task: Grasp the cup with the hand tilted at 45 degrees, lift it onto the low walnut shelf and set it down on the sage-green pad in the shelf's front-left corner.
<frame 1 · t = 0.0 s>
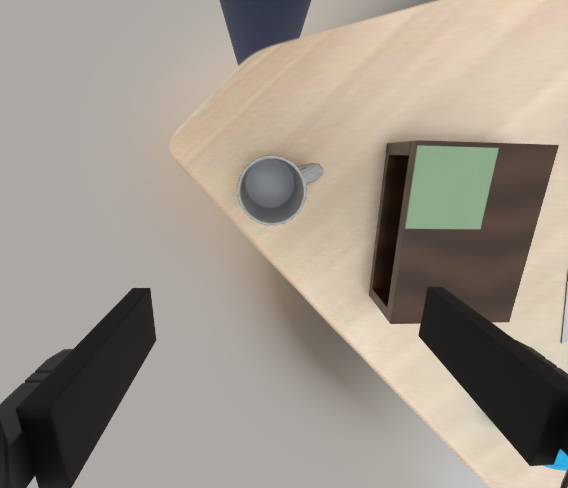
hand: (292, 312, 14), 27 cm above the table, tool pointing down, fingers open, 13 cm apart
shelf: (431, 225, 42), on the table
cup: (279, 179, 39), on the table
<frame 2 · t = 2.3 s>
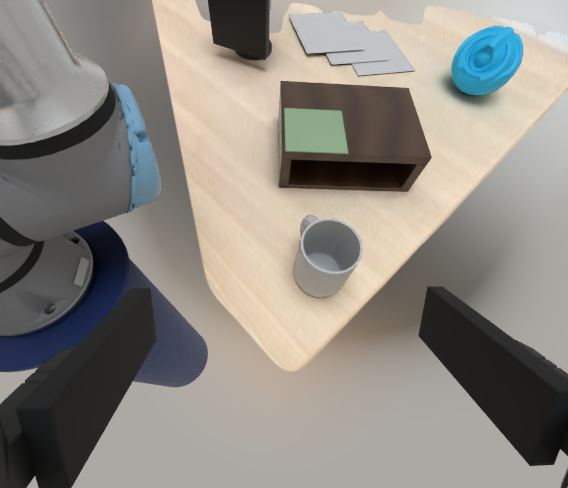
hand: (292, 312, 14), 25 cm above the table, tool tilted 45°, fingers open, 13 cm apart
paper stack: (348, 43, 70), on the table
blue rounded piece: (467, 90, 65), on the table
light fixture: (250, 52, 66), on the table
shelf: (339, 154, 53), on the table
cup: (314, 266, 43), on the table
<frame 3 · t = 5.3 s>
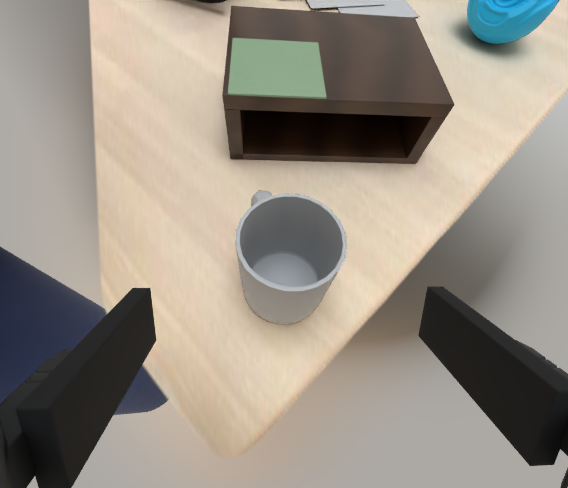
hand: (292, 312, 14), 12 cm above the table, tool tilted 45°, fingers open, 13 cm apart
blue rounded piece: (486, 39, 51), on the table
shelf: (319, 115, 38), on the table
cup: (276, 273, 28), on the table
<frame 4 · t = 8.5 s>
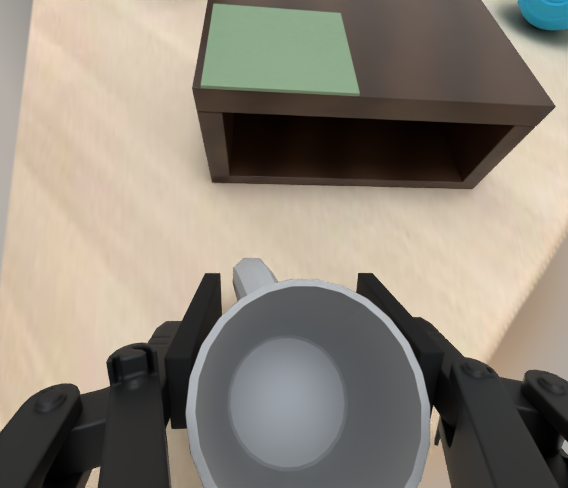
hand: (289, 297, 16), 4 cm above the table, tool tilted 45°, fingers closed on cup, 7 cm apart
blue rounded piece: (538, 26, 41), on the table
shelf: (336, 119, 28), on the table
cup: (277, 372, 17), on the table, touching gripper
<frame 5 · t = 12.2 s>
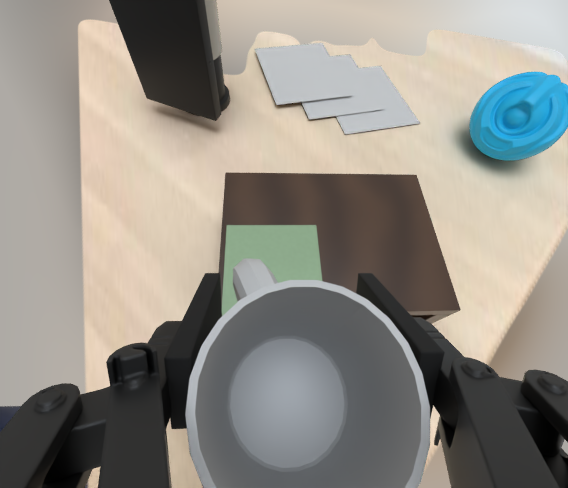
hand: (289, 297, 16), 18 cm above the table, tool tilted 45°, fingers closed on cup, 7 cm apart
paper stack: (331, 86, 54), on the table
blue rounded piece: (489, 149, 49), on the table
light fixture: (201, 105, 50), on the table
shelf: (318, 266, 37), on the table
cup: (277, 373, 17), point 15 cm above the table, touching gripper
when the fingers open (12 cm above the table, at t = 15.9 s): cup stays where it is, resting on shelf.
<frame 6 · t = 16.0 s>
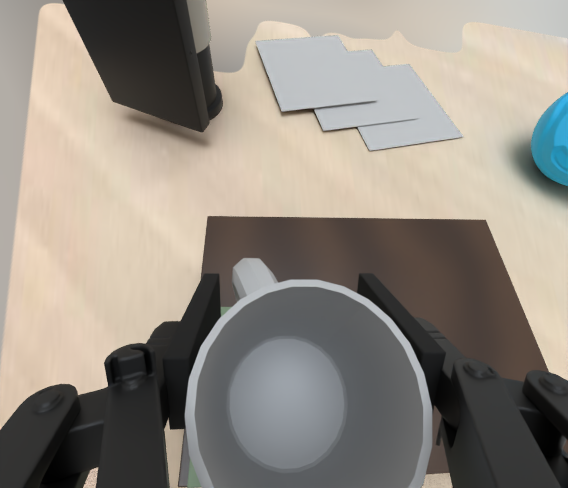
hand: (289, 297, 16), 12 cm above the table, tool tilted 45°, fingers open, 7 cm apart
paper stack: (350, 88, 44), on the table
blue rounded piece: (553, 171, 38), on the table
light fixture: (186, 110, 39), on the table
shelf: (339, 343, 26), on the table
cup: (277, 373, 17), point 8 cm above the table, touching shelf
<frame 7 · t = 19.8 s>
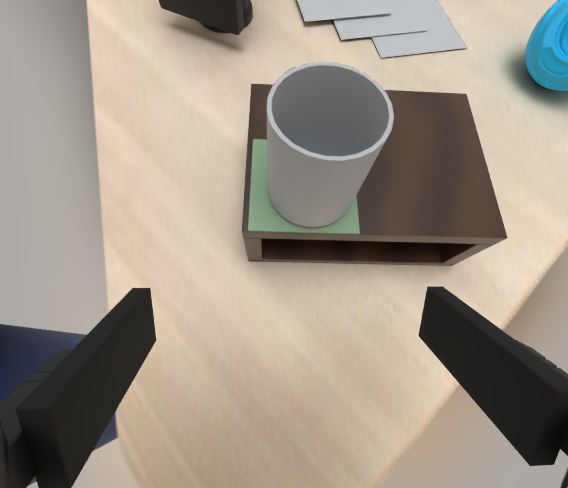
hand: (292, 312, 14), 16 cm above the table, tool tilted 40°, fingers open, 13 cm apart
paper stack: (368, 3, 48), on the table
blue rounded piece: (544, 80, 43), on the table
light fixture: (221, 20, 45), on the table
shelf: (346, 197, 34), on the table
cup: (303, 179, 26), point 8 cm above the table, touching shelf
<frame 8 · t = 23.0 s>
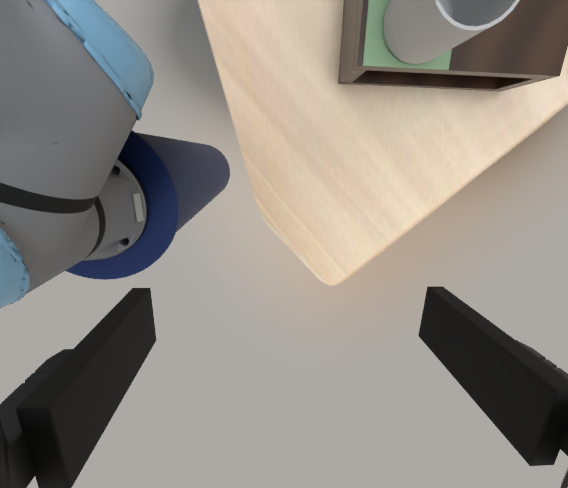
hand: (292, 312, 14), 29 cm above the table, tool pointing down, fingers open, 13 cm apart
shelf: (432, 14, 36), on the table
cup: (413, 9, 29), point 8 cm above the table, touching shelf
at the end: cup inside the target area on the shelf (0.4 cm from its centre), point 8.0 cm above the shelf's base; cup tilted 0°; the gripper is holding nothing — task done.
